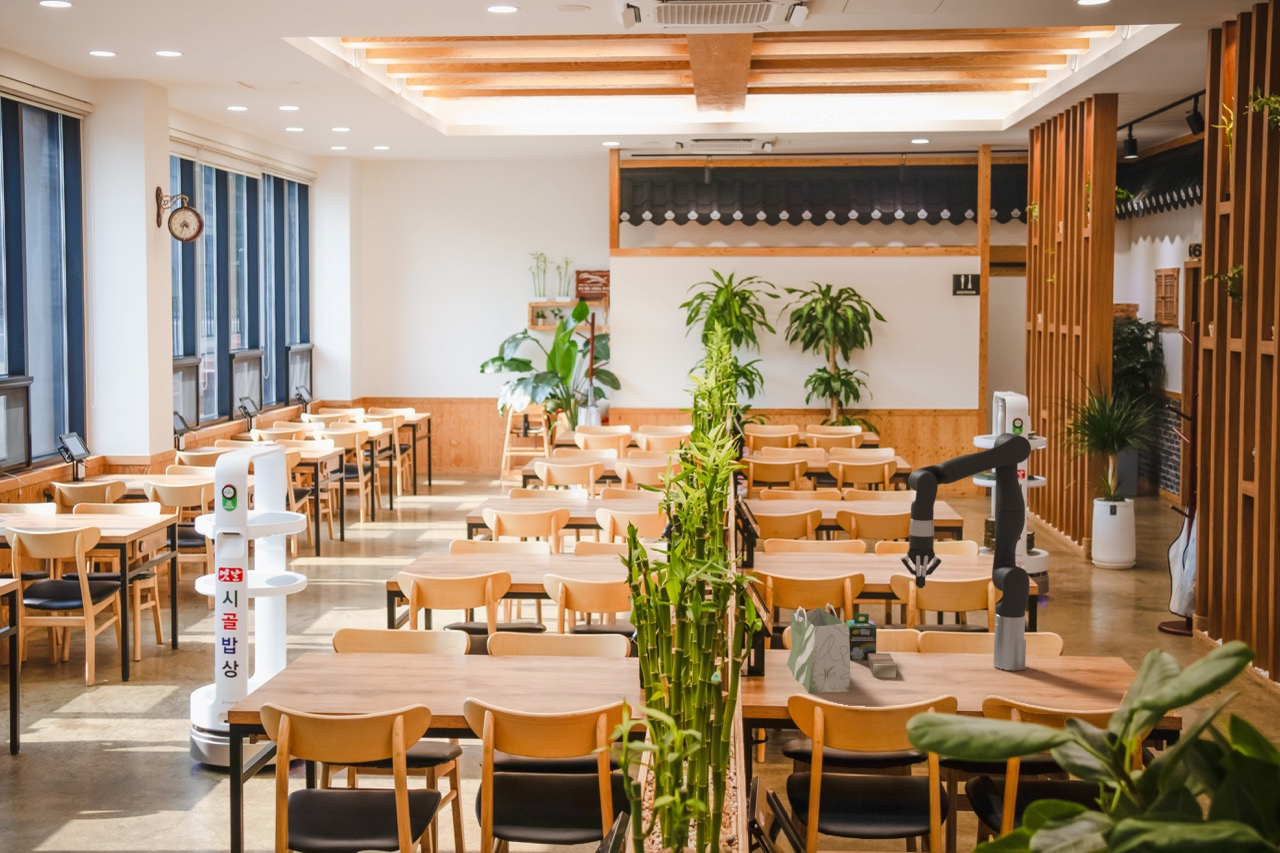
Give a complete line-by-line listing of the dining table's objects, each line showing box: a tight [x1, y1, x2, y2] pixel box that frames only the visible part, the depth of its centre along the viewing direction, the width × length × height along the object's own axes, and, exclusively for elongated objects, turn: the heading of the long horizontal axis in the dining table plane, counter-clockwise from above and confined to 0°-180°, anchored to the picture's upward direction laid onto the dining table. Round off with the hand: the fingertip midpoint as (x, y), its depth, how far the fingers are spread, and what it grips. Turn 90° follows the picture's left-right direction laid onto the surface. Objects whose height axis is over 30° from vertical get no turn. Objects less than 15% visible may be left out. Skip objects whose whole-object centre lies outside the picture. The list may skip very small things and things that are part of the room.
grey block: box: [867, 652, 897, 678], centre depth 413 cm, size 4×7×14 cm
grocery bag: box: [786, 603, 851, 694], centre depth 404 cm, size 32×14×23 cm, turn 6°
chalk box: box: [845, 613, 877, 661], centre depth 430 cm, size 9×9×15 cm
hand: (920, 587), depth 411 cm, fingers closed
